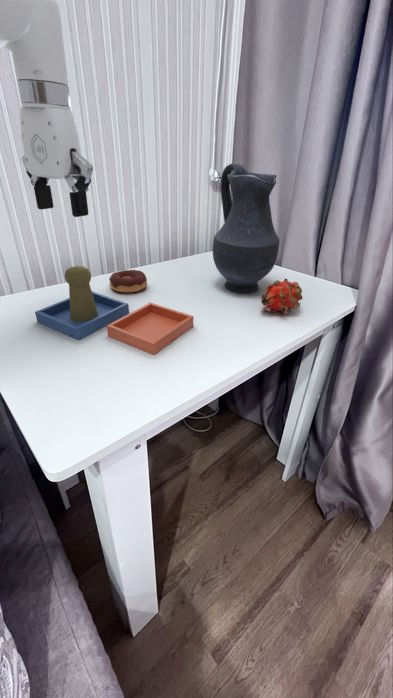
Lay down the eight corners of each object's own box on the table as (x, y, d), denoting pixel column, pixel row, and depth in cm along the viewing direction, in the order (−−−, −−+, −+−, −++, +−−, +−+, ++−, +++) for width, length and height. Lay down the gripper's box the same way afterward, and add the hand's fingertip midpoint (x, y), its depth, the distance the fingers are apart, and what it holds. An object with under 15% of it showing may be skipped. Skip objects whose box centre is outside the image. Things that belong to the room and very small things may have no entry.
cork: (64, 318, 73) (54, 270, 67) (82, 307, 78) (74, 261, 72) (87, 324, 71) (79, 275, 65) (103, 312, 76) (97, 266, 70)
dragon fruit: (299, 312, 85) (262, 328, 80) (282, 285, 87) (245, 299, 82) (318, 295, 77) (278, 312, 73) (298, 266, 79) (259, 281, 75)
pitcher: (233, 304, 83) (248, 170, 67) (192, 277, 98) (196, 162, 82) (284, 293, 91) (308, 169, 75) (239, 269, 106) (251, 162, 90)
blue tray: (78, 340, 66) (76, 329, 65) (37, 322, 72) (34, 311, 71) (129, 313, 77) (128, 303, 76) (89, 299, 83) (88, 289, 81)
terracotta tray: (153, 355, 63) (153, 344, 62) (107, 336, 68) (106, 325, 67) (193, 326, 73) (193, 316, 72) (150, 311, 78) (150, 302, 77)
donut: (102, 291, 87) (100, 276, 85) (120, 278, 95) (119, 265, 93) (137, 297, 85) (136, 282, 83) (152, 283, 93) (152, 270, 91)
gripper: (-9, 96, 54) (16, 208, 63) (62, 94, 47) (78, 222, 56) (32, 101, 60) (49, 204, 69) (101, 101, 52) (110, 216, 61)
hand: (62, 212), depth 62 cm, fingers open, 9 cm apart
